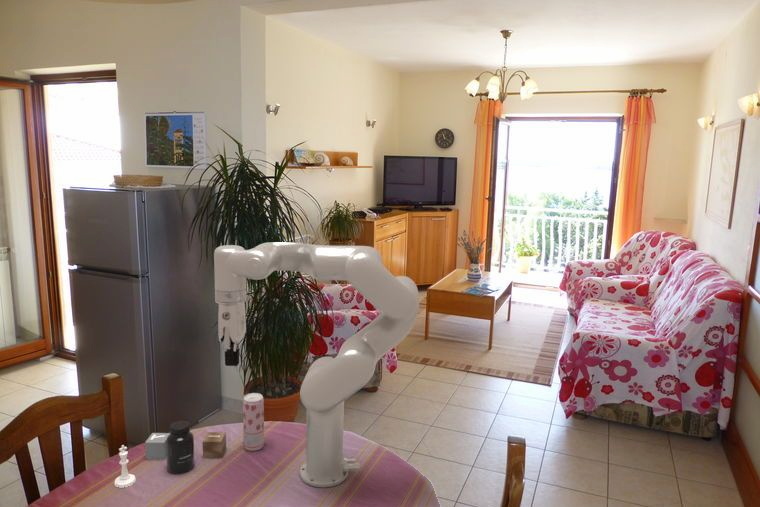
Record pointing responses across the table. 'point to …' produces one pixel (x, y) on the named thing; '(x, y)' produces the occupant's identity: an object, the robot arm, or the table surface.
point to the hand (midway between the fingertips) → (232, 364)
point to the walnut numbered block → (214, 444)
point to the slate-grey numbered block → (156, 446)
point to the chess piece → (124, 471)
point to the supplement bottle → (180, 448)
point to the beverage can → (253, 421)
